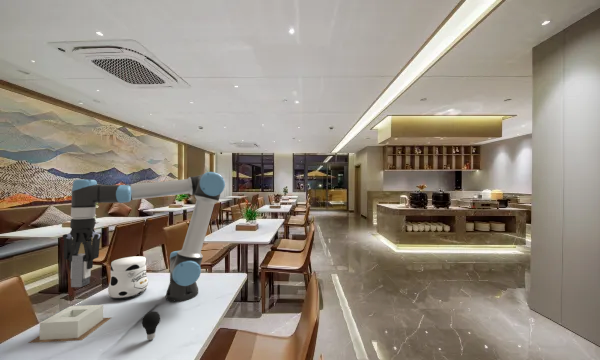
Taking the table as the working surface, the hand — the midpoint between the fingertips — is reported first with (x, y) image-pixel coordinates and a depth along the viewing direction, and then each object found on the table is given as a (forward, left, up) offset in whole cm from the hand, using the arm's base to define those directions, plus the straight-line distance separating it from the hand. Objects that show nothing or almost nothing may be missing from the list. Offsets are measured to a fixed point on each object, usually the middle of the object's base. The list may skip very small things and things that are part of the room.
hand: (80, 277), depth 100 cm
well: (+1, +2, -19) cm, 19 cm away
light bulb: (-32, +10, -21) cm, 39 cm away
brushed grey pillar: (0, 0, -3) cm, 3 cm away
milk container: (+1, -33, -21) cm, 39 cm away
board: (+1, +2, -20) cm, 21 cm away
